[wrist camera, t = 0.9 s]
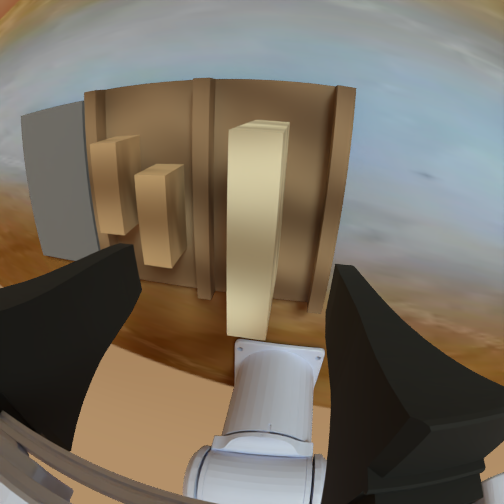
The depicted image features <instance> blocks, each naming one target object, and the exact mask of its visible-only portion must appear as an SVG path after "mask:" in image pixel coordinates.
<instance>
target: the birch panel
mask: <svg viewBox="0 0 504 504" xmlns="http://www.w3.org/2000/svg"><path fill="white" fill-rule="evenodd" d="M289 126H290V122H280V121H266V120H254V121H251V122H248V123H246V124H243V125H240V126H237V127H235V128H232V129H230V130H229V138H228V179H227V335H229V336H236V337H243V338H250V339H257V340H266V334H267V328H268V323H269V317H270V311H271V305H272V299H273V293H274V287H275V280H276V274H277V267H278V257H279V246H280V236H281V225H282V214H283V203H284V191H285V179H286V167H287V154H288V140H289Z"/></svg>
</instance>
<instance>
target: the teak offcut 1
mask: <svg viewBox="0 0 504 504" xmlns="http://www.w3.org/2000/svg"><path fill="white" fill-rule="evenodd" d="M90 153H91V165H92V175H93V184H94V192H95V199H96V206H97V213H98V219H99V225H100V231H101V233H107V234H116V235H126V234H127V233H128V232H129V231H130V230H132V229H133V228H134V227H135V226H136V225H137V224H139V220H138V211H137V201H136V190H135V178H134V175H135V174H137V173H139V172H141V155H140V135H133V136H117V137H112V138H109V139H106V140H102V141H99V142H96V143H92V144H90Z"/></svg>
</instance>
